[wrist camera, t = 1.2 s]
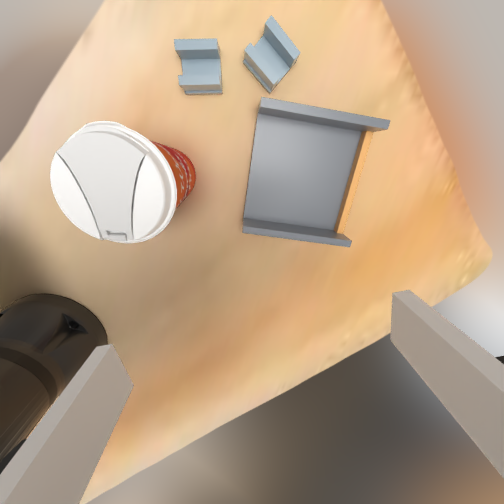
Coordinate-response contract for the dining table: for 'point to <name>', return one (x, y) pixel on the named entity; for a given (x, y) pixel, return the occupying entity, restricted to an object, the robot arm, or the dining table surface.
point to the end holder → (305, 171)
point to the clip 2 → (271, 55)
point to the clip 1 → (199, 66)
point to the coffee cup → (119, 182)
